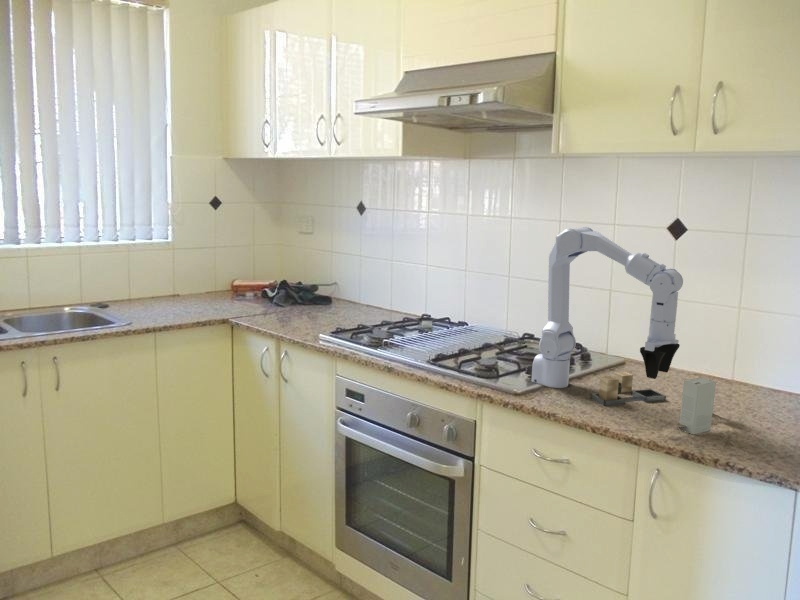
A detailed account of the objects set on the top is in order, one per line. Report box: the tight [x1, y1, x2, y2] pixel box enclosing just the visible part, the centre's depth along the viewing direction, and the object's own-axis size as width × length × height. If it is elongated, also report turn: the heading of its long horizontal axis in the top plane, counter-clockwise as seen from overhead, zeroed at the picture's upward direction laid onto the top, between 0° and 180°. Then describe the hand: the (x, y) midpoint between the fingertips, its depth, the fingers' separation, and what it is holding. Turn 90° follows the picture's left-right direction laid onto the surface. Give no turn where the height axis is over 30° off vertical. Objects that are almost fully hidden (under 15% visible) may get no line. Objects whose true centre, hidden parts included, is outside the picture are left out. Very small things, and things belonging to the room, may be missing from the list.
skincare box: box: [678, 376, 717, 435], centre depth 162 cm, size 6×4×12 cm
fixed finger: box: [598, 375, 622, 400], centre depth 178 cm, size 4×3×6 cm
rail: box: [590, 388, 667, 407], centre depth 180 cm, size 18×6×3 cm, turn 108°
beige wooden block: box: [614, 371, 634, 393], centre depth 187 cm, size 4×3×6 cm
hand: (657, 374), depth 172 cm, fingers open, 7 cm apart
